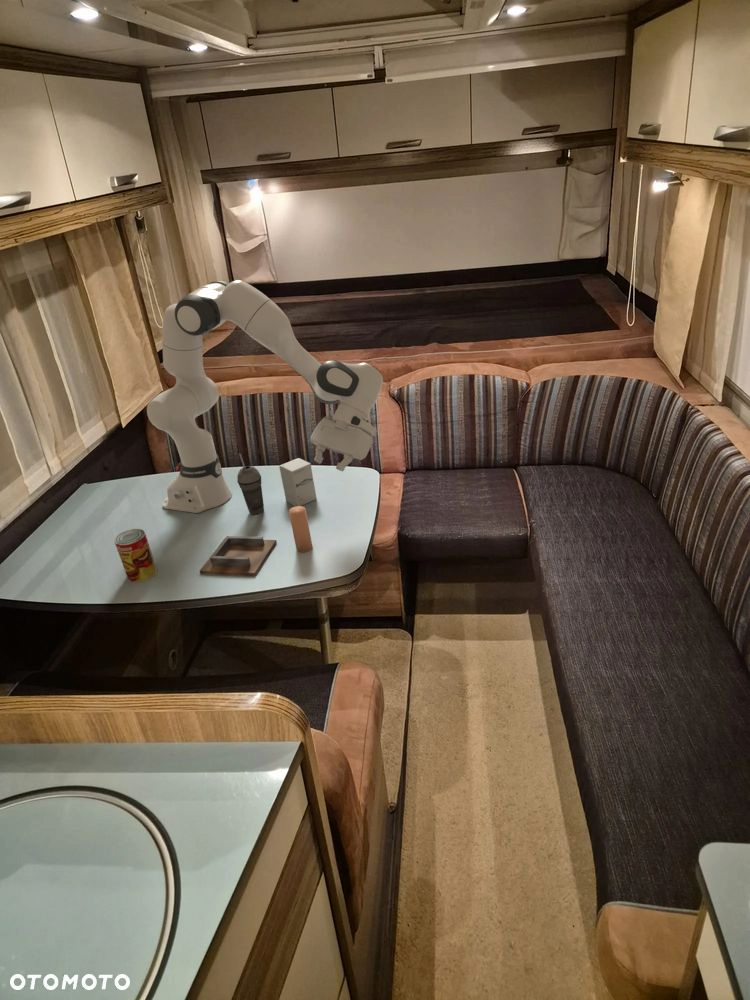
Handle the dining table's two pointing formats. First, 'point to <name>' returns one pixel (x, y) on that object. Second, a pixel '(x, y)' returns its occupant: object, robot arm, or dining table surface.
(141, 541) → the canned food
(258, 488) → the beverage cup
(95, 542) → the dining table surface
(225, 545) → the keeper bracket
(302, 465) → the supplement box
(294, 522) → the terracotta post
